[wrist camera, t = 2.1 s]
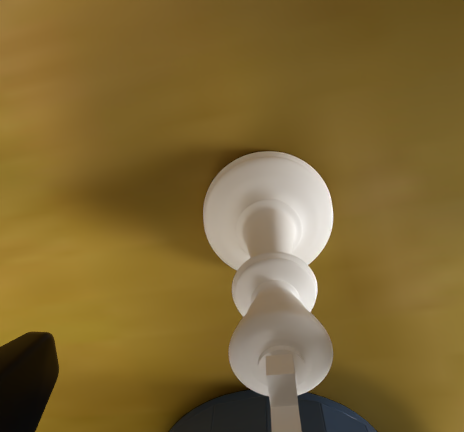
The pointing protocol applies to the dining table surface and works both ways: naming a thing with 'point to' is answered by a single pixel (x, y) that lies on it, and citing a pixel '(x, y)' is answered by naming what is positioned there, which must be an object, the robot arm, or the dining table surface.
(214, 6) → the dining table surface
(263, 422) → the pot
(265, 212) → the chess piece
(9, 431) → the robot arm
